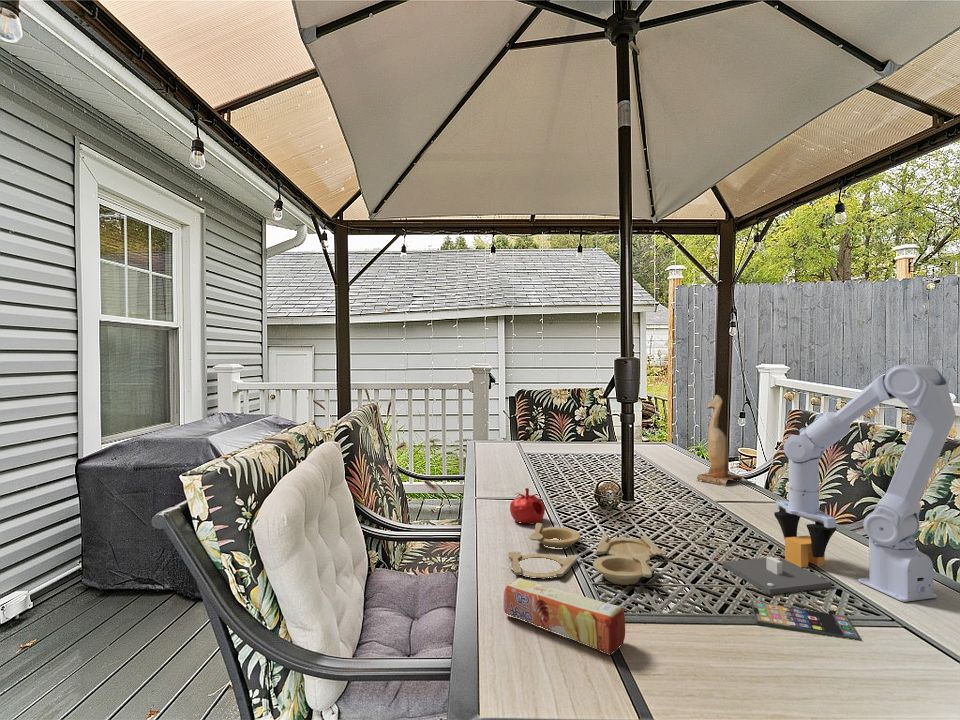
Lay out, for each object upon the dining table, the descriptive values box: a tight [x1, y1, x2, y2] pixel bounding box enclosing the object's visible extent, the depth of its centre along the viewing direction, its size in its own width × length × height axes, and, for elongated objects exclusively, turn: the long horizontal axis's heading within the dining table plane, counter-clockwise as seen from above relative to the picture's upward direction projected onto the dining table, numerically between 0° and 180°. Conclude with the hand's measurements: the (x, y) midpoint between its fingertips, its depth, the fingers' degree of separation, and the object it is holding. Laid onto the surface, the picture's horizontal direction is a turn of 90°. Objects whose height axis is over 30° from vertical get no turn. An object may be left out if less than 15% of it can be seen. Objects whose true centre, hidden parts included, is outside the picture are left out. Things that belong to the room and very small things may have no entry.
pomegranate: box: [509, 487, 546, 523], centre depth 149 cm, size 10×10×9 cm
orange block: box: [784, 535, 826, 568], centre depth 117 cm, size 6×4×5 cm
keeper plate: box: [722, 556, 833, 595], centre depth 109 cm, size 14×14×4 cm
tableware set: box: [507, 522, 667, 586], centre depth 120 cm, size 35×29×4 cm
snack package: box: [503, 577, 626, 654], centre depth 89 cm, size 21×7×7 cm, turn 49°
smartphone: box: [750, 600, 862, 642], centre depth 91 cm, size 8×15×1 cm, turn 69°
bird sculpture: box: [696, 394, 743, 487], centre depth 193 cm, size 11×12×32 cm
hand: (804, 550), depth 117 cm, fingers open, 7 cm apart
